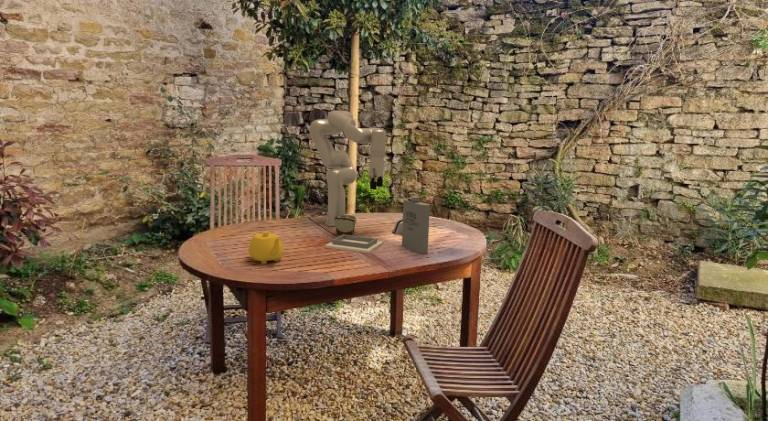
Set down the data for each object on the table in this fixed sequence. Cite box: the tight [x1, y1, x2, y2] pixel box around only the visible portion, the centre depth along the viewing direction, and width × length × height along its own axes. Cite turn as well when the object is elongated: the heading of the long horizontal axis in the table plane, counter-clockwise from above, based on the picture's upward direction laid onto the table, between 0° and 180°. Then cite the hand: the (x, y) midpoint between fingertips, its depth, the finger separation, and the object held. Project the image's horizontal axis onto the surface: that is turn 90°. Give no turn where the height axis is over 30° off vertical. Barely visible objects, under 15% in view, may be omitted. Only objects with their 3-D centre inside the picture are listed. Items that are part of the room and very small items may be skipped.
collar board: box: [324, 234, 384, 254], centre depth 237 cm, size 22×18×3 cm
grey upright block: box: [401, 195, 431, 255], centre depth 232 cm, size 17×5×25 cm, turn 33°
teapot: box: [247, 230, 285, 265], centre depth 209 cm, size 13×20×12 cm
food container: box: [334, 214, 357, 237], centre depth 256 cm, size 12×6×10 cm, turn 65°
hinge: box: [391, 217, 403, 236], centre depth 266 cm, size 17×5×10 cm, turn 122°
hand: (376, 187), depth 256 cm, fingers open, 9 cm apart
